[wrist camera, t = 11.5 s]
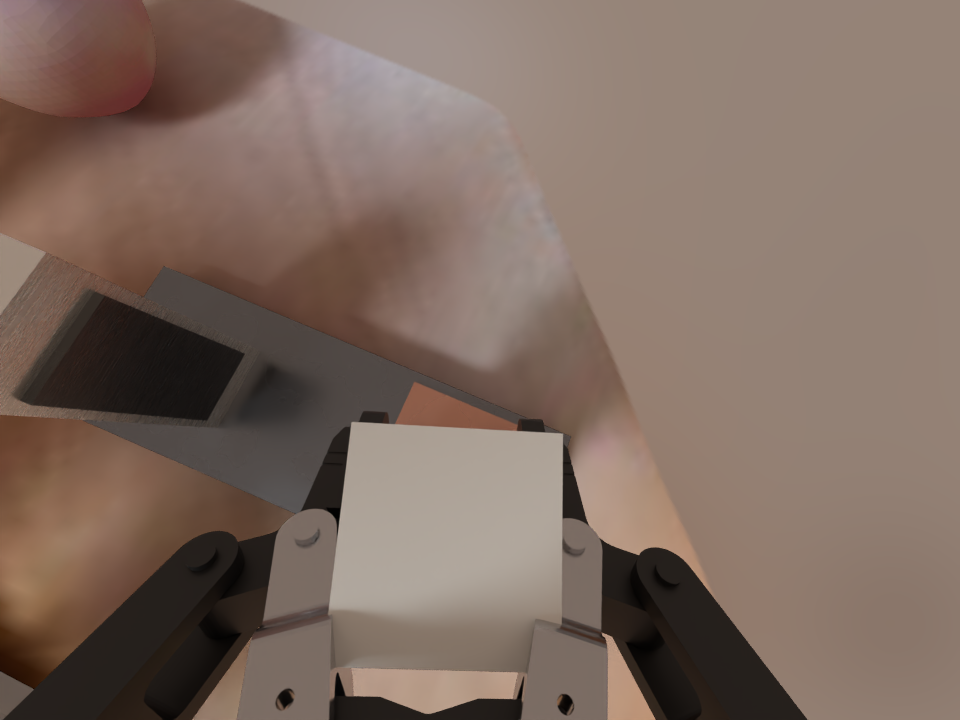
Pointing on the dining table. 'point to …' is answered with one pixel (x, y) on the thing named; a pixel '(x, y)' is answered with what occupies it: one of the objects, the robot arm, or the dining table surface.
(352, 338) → the dining table surface
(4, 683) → the french press
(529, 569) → the block
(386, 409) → the grey stand
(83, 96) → the decorative fruit
